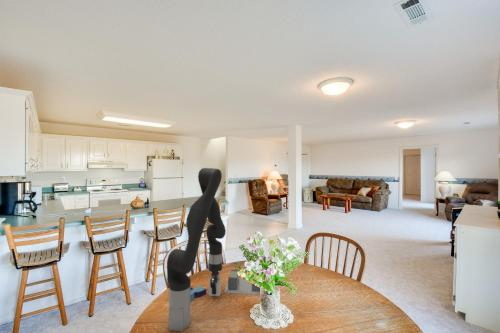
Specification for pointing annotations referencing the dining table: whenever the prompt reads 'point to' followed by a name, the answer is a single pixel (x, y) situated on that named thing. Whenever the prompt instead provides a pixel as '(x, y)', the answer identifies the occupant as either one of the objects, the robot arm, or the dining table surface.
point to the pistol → (197, 292)
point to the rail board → (240, 285)
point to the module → (218, 288)
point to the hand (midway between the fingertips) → (214, 291)
